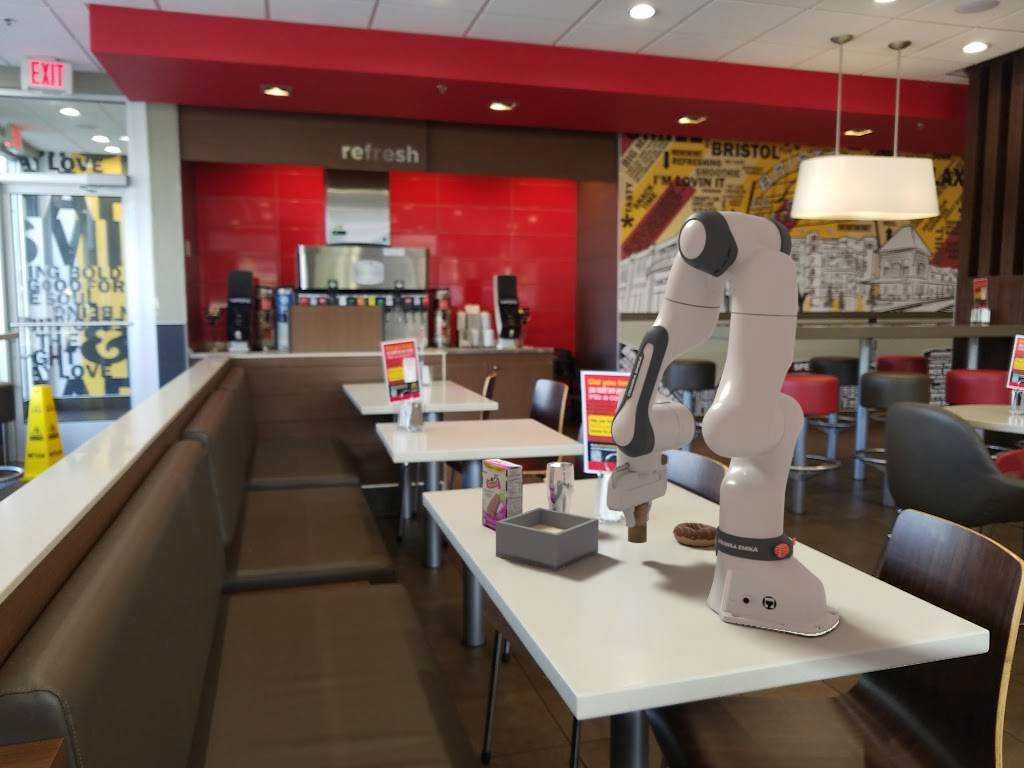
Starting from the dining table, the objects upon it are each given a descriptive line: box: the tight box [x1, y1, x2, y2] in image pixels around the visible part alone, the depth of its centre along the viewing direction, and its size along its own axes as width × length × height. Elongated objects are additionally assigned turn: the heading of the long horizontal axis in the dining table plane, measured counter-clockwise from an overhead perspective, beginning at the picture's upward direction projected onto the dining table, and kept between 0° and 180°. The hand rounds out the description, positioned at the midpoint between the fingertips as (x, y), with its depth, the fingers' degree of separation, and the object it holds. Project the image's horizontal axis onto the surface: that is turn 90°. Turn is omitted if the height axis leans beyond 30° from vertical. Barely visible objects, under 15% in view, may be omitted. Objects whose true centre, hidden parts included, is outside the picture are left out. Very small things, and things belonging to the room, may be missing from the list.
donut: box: [672, 521, 717, 547], centre depth 185 cm, size 11×11×4 cm
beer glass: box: [545, 461, 575, 514], centre depth 198 cm, size 7×7×15 cm
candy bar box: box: [481, 458, 524, 531], centre depth 193 cm, size 11×5×16 cm, turn 34°
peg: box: [627, 503, 648, 544], centre depth 171 cm, size 4×4×8 cm
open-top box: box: [495, 507, 600, 572], centre depth 174 cm, size 16×16×8 cm
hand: (637, 523), depth 171 cm, fingers closed on peg, 4 cm apart
